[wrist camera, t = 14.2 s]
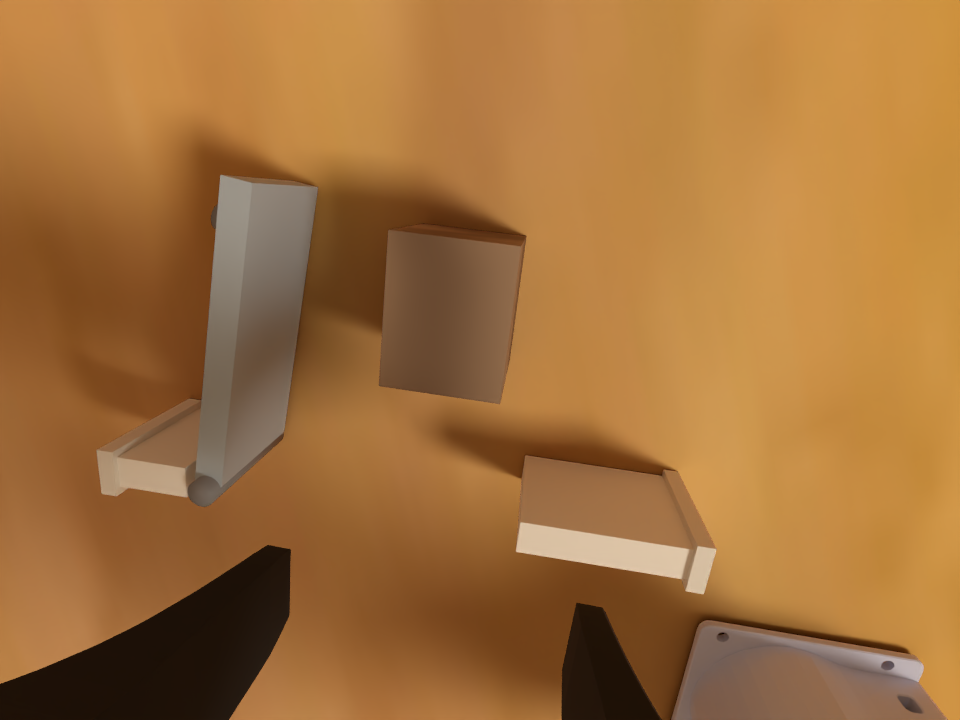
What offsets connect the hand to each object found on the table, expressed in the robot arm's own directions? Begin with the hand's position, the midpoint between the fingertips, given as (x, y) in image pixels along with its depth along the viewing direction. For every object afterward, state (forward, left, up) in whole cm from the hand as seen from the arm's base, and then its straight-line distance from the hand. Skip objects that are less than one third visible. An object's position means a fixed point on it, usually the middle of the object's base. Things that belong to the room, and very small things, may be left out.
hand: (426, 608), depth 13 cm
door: (+9, -4, -10) cm, 14 cm away
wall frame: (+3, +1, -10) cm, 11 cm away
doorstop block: (+1, -6, -10) cm, 12 cm away
